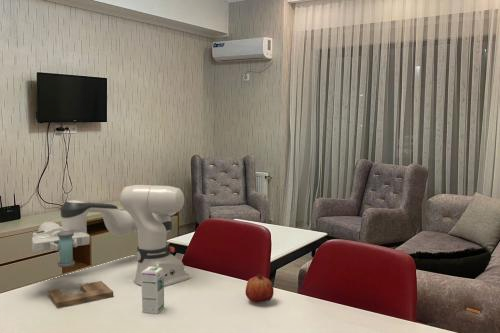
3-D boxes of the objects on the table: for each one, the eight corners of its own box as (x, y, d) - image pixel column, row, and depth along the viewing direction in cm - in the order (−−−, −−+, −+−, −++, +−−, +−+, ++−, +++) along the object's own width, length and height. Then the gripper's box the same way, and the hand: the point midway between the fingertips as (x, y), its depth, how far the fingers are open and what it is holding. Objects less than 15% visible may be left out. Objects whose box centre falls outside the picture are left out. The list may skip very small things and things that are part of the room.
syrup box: (157, 314, 157) (157, 272, 156) (141, 312, 159) (141, 270, 157) (164, 307, 163) (164, 267, 162) (148, 306, 164) (148, 265, 163)
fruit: (279, 302, 170) (280, 275, 169) (261, 310, 162) (261, 281, 161) (257, 294, 177) (258, 268, 176) (239, 301, 169) (239, 274, 169)
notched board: (101, 285, 183) (101, 280, 183) (113, 296, 172) (113, 291, 172) (48, 296, 172) (47, 290, 172) (57, 308, 161) (57, 302, 161)
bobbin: (72, 261, 174) (71, 230, 173) (76, 265, 170) (75, 233, 168) (56, 264, 171) (55, 231, 170) (60, 268, 166) (59, 235, 165)
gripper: (84, 242, 186) (95, 250, 175) (28, 250, 174) (36, 259, 163) (84, 226, 186) (95, 234, 175) (28, 233, 174) (36, 241, 163)
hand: (66, 246), depth 169 cm, fingers closed on bobbin, 4 cm apart
